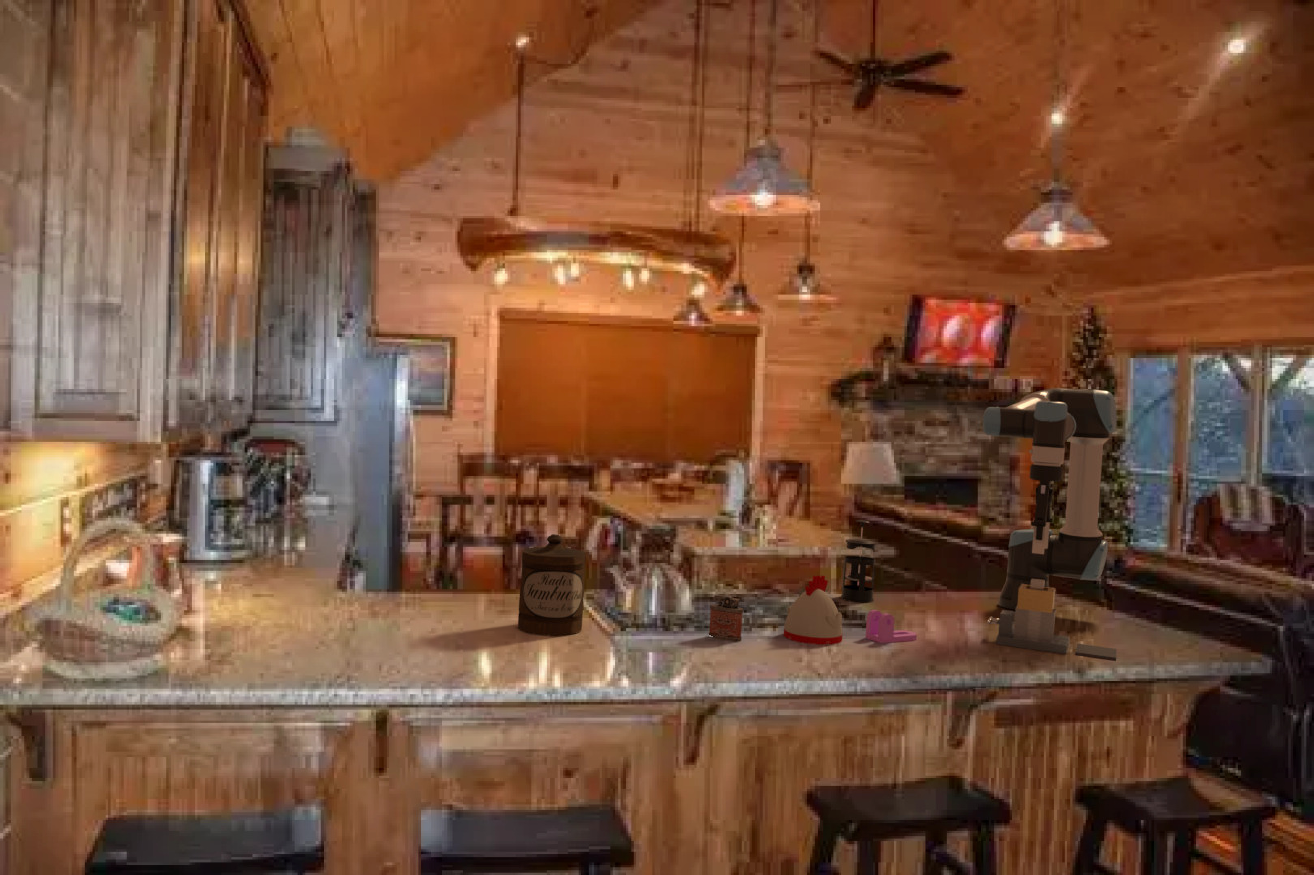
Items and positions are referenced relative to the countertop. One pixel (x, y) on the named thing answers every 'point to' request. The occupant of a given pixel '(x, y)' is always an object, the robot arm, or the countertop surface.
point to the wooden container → (551, 589)
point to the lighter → (726, 619)
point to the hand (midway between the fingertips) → (1039, 550)
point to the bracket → (885, 629)
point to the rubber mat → (1096, 651)
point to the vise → (1030, 628)
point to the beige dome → (814, 616)
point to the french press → (858, 563)
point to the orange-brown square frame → (1036, 599)
